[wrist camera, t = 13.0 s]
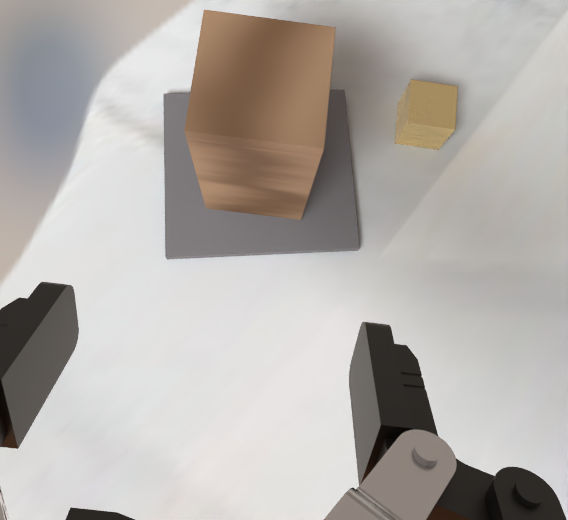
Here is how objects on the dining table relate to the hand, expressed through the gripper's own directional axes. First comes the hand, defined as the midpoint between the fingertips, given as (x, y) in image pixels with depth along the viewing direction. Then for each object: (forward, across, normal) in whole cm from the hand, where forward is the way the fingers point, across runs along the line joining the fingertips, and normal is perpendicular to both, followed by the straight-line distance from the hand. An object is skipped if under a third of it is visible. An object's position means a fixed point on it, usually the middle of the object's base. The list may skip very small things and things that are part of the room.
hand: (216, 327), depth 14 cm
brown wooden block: (+20, 0, +3) cm, 20 cm away
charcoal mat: (+20, 0, +4) cm, 20 cm away
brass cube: (+24, -10, 0) cm, 26 cm away
